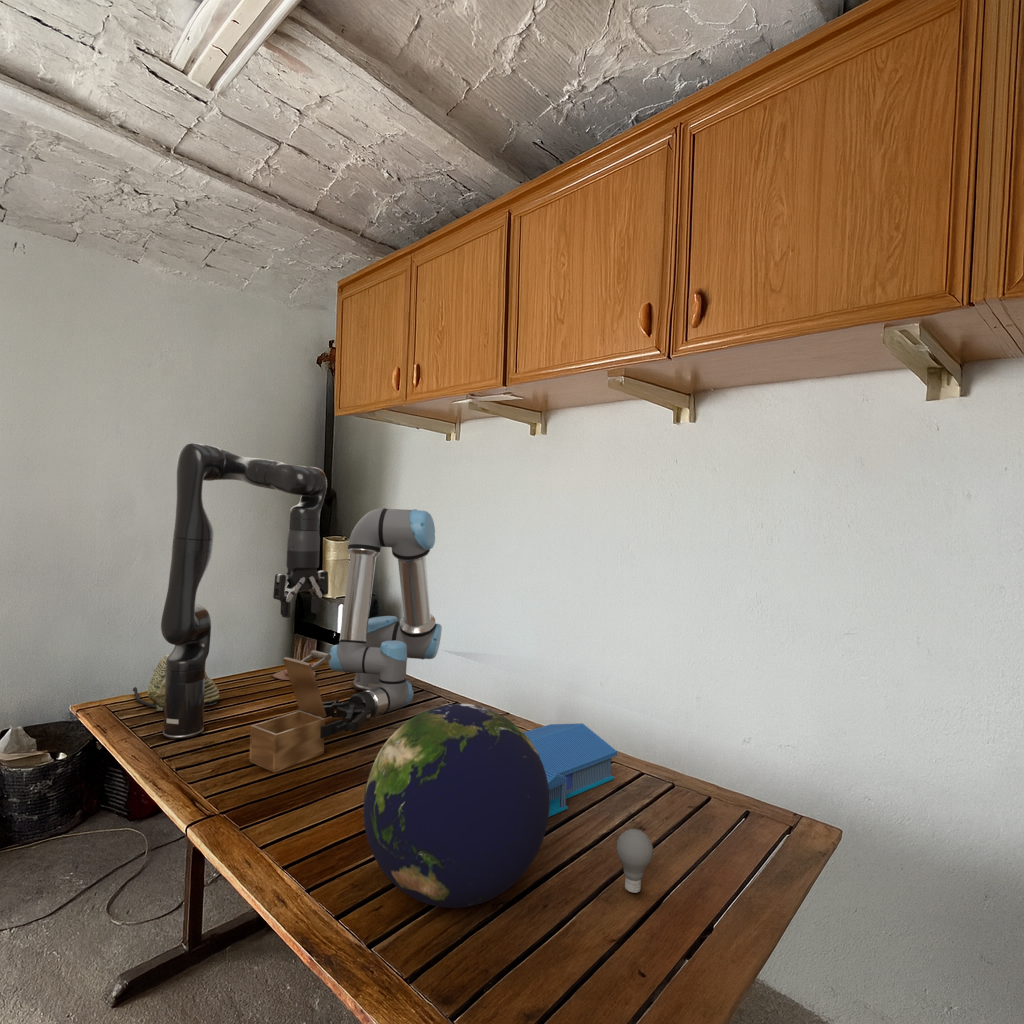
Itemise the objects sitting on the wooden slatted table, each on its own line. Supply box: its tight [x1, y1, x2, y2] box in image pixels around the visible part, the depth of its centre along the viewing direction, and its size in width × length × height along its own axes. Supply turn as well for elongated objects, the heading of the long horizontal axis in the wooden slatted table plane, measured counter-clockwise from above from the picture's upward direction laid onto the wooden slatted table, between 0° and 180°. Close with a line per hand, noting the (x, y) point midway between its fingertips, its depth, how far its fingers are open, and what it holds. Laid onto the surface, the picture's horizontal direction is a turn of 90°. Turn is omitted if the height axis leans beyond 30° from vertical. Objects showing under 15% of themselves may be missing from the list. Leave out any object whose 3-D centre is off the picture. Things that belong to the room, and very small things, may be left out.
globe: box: [363, 703, 550, 909], centre depth 103 cm, size 30×30×30 cm
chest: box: [248, 710, 326, 773], centre depth 153 cm, size 14×10×9 cm
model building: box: [523, 722, 618, 818], centre depth 142 cm, size 39×24×10 cm, turn 132°
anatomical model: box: [272, 662, 316, 681], centre depth 220 cm, size 13×4×12 cm
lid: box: [282, 649, 331, 719], centre depth 159 cm, size 15×10×8 cm
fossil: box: [147, 654, 221, 712], centre depth 185 cm, size 9×18×15 cm, turn 132°
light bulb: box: [615, 828, 654, 894], centre depth 106 cm, size 6×6×10 cm
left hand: (300, 615), depth 154 cm, fingers open, 8 cm apart
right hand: (303, 726), depth 156 cm, fingers open, 13 cm apart
